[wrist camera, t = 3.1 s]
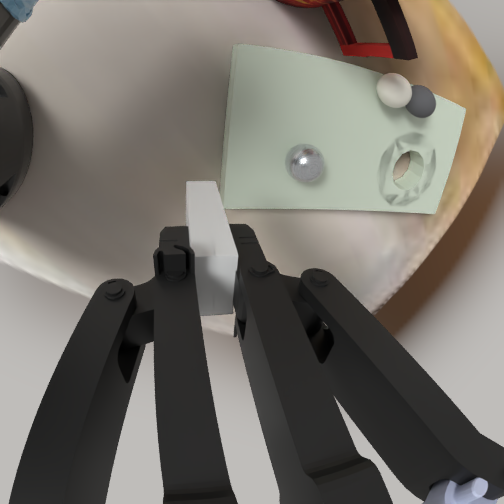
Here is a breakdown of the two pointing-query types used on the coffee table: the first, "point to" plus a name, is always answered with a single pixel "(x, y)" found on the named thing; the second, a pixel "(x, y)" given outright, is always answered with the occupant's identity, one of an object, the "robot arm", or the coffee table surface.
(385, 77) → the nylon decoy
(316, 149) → the steel ball
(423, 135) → the board
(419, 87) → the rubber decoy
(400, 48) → the mug
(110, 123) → the coffee table surface
